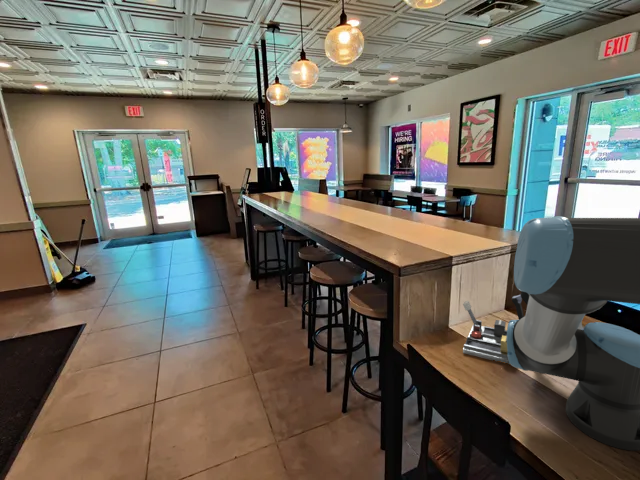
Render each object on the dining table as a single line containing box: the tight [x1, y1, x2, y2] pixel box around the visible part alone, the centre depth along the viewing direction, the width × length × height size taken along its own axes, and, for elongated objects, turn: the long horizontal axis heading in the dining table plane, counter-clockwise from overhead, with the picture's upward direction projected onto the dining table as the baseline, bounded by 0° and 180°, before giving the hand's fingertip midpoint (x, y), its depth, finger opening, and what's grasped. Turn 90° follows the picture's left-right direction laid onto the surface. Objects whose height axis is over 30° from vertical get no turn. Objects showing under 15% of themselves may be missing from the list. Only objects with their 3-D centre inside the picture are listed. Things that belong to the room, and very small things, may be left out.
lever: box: [462, 300, 479, 325], centre depth 114 cm, size 2×2×10 cm
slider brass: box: [500, 335, 508, 354], centre depth 100 cm, size 4×3×5 cm
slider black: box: [493, 319, 506, 337], centre depth 109 cm, size 4×3×5 cm
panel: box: [462, 319, 510, 365], centre depth 107 cm, size 18×15×4 cm
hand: (533, 350), depth 96 cm, fingers closed
